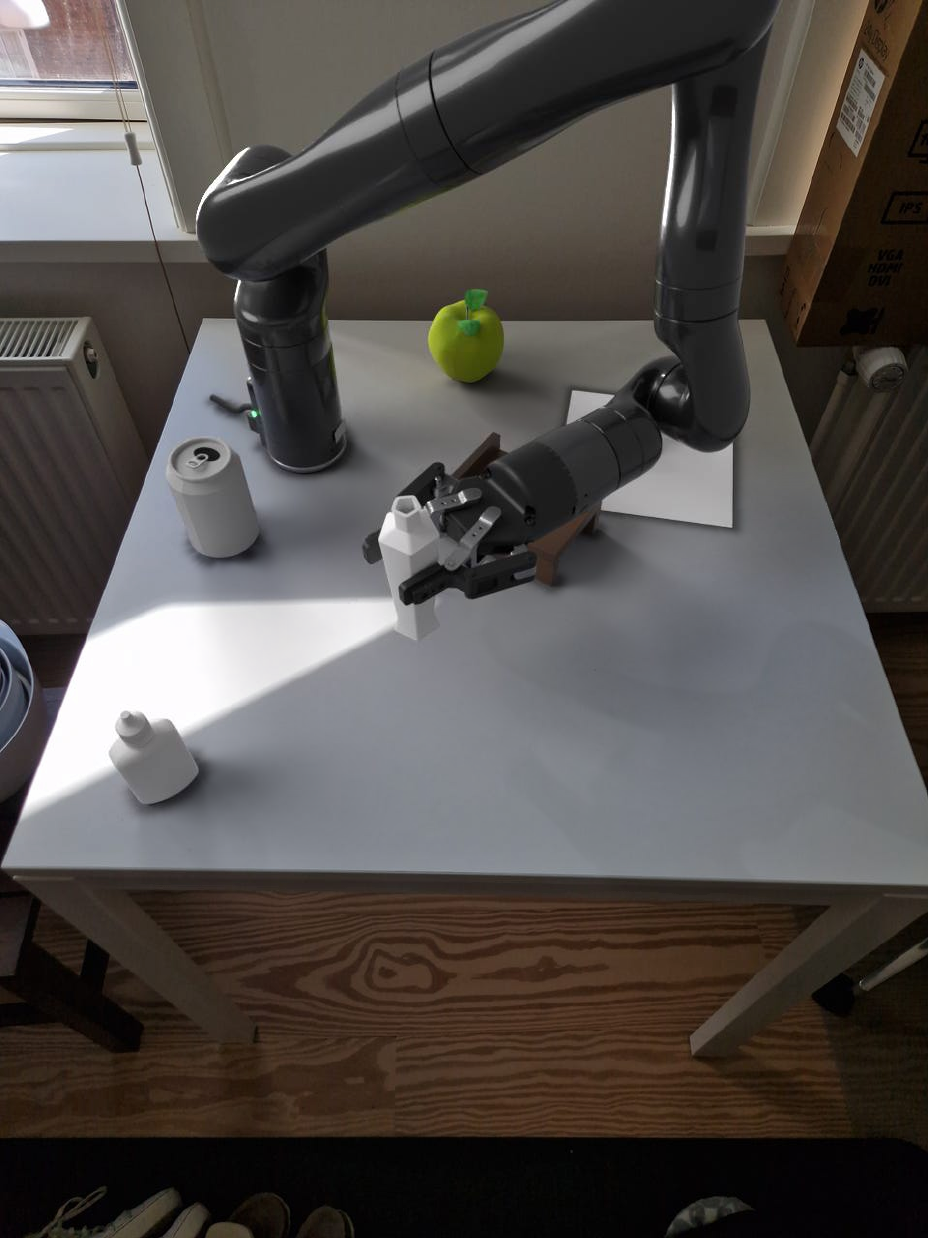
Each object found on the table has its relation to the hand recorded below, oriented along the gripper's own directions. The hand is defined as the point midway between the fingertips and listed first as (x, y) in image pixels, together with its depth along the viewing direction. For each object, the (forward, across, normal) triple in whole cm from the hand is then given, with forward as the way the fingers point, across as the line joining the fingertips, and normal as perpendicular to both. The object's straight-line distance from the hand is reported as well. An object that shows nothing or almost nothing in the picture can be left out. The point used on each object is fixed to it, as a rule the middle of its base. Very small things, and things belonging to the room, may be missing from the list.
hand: (384, 574), depth 66 cm
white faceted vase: (-3, 0, +9) cm, 9 cm away
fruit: (-34, -35, +19) cm, 52 cm away
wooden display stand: (-23, -10, +19) cm, 31 cm away
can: (+4, -28, +19) cm, 34 cm away
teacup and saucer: (-42, -10, +19) cm, 47 cm away
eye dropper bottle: (+22, -5, +19) cm, 29 cm away
